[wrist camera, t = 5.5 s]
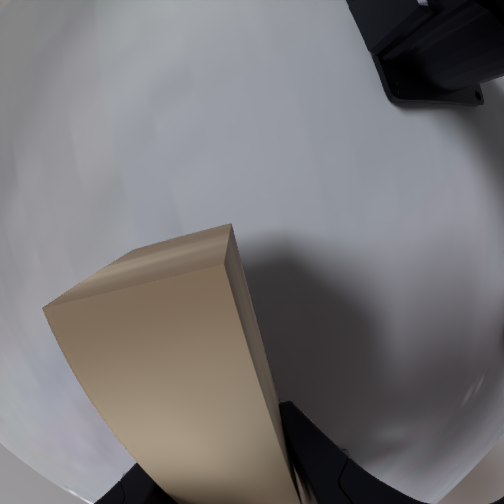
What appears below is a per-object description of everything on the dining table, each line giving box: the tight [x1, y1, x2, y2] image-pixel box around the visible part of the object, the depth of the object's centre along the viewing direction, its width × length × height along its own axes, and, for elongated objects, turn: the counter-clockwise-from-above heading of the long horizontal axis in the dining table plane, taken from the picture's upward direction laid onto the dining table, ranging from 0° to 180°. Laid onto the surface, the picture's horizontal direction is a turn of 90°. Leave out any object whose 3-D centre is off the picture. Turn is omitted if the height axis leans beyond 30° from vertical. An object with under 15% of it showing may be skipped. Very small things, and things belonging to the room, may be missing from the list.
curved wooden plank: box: [42, 223, 306, 504], centre depth 7 cm, size 12×3×4 cm, turn 14°
